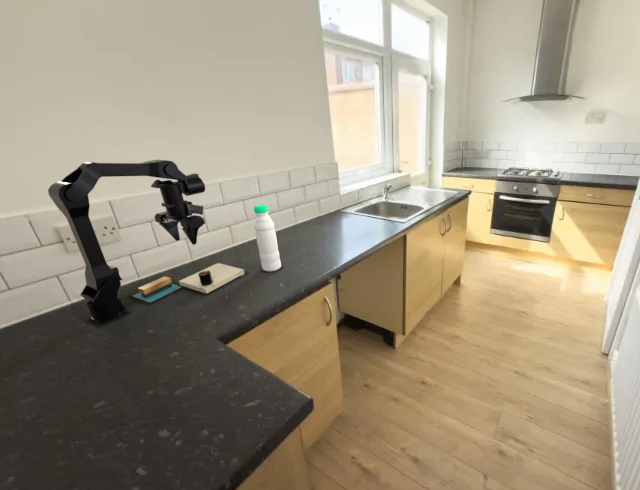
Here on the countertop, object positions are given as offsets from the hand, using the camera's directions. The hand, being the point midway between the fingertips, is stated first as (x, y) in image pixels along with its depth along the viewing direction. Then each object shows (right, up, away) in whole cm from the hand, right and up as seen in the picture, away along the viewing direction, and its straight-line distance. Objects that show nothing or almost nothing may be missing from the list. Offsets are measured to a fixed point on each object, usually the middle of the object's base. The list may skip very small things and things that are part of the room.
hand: (186, 242), depth 112 cm
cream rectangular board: (+8, -14, +4) cm, 16 cm away
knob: (+9, -14, -3) cm, 17 cm away
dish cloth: (-7, -17, -4) cm, 19 cm away
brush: (-7, -17, -4) cm, 19 cm away
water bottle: (+26, -10, +11) cm, 30 cm away
